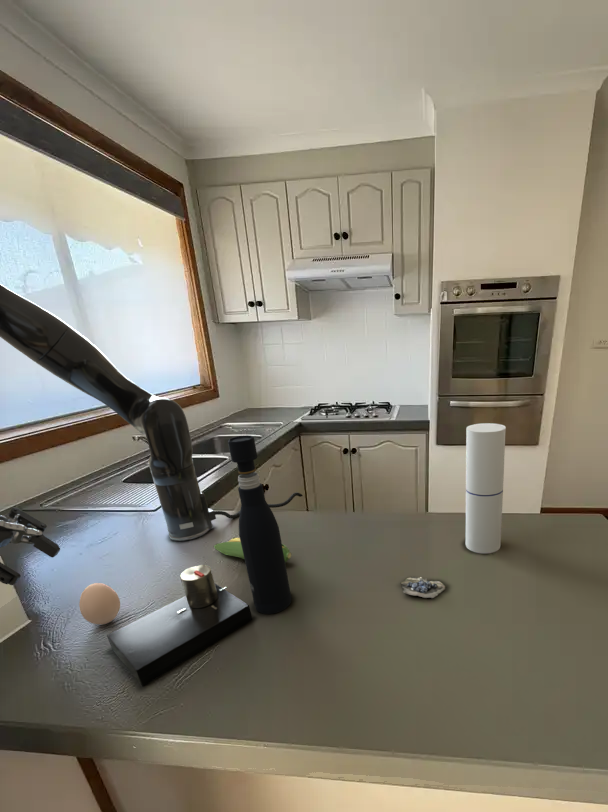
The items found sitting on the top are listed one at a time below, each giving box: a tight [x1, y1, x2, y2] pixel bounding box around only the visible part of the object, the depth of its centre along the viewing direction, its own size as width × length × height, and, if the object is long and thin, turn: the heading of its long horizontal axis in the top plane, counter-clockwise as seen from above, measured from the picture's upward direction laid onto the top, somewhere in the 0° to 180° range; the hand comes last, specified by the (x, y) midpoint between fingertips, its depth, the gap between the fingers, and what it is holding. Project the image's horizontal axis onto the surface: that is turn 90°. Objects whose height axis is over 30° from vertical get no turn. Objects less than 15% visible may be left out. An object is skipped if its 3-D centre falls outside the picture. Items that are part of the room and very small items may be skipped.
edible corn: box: [213, 537, 292, 563], centre depth 90 cm, size 5×20×5 cm, turn 64°
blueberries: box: [400, 576, 446, 599], centre depth 75 cm, size 7×8×2 cm
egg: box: [78, 582, 121, 626], centre depth 72 cm, size 6×6×8 cm
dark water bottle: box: [227, 435, 292, 615], centre depth 69 cm, size 6×6×30 cm
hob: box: [106, 582, 253, 687], centre depth 69 cm, size 18×12×3 cm
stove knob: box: [179, 564, 218, 608], centre depth 71 cm, size 5×5×6 cm
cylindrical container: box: [464, 422, 507, 554], centre depth 84 cm, size 7×7×25 cm
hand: (38, 566), depth 70 cm, fingers open, 8 cm apart
